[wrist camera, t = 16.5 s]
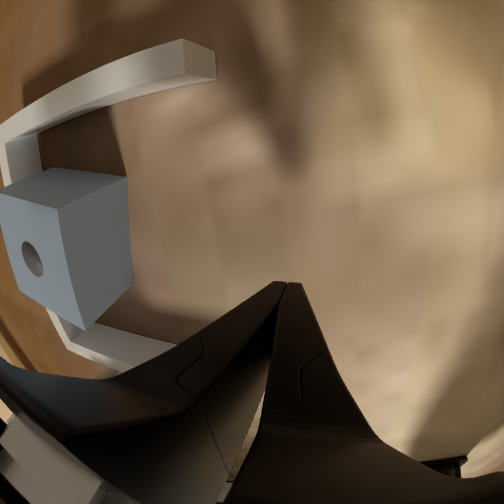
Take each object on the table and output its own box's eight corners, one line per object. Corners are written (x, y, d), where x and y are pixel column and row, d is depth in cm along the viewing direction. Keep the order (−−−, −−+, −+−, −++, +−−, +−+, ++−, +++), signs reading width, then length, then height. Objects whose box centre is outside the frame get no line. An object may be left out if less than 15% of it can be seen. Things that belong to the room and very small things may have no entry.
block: (129, 176, 12) (56, 209, 8) (135, 281, 15) (84, 331, 11) (55, 166, 13) (-7, 192, 9) (67, 255, 16) (18, 290, 12)
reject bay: (214, 51, 9) (182, 38, 7) (246, 371, 16) (233, 404, 14) (26, 120, 12) (-5, 128, 10) (86, 329, 19) (67, 349, 17)
